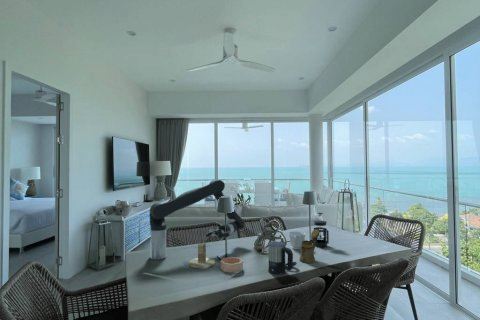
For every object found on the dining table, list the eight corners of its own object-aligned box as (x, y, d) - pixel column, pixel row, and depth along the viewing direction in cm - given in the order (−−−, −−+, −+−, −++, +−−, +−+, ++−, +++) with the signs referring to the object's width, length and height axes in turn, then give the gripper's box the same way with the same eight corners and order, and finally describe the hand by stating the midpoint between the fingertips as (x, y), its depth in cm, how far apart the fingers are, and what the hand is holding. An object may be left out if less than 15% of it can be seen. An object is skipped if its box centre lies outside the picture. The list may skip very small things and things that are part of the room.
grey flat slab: (190, 273, 142) (190, 271, 142) (182, 263, 157) (182, 262, 157) (222, 267, 151) (222, 265, 151) (211, 258, 165) (211, 257, 165)
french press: (309, 245, 192) (309, 212, 193) (318, 243, 197) (318, 211, 198) (323, 249, 182) (323, 214, 183) (332, 246, 188) (331, 213, 188)
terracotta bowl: (226, 275, 139) (226, 265, 139) (218, 268, 149) (218, 259, 149) (245, 271, 144) (245, 262, 145) (236, 264, 154) (236, 255, 155)
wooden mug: (324, 260, 161) (323, 229, 161) (306, 264, 155) (305, 232, 155) (313, 256, 169) (313, 226, 169) (296, 259, 163) (296, 229, 163)
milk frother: (265, 273, 142) (265, 245, 142) (272, 263, 156) (272, 237, 157) (293, 277, 137) (293, 247, 137) (297, 266, 151) (297, 239, 152)
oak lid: (205, 270, 144) (205, 249, 144) (182, 266, 150) (182, 245, 151) (220, 261, 157) (220, 242, 157) (198, 258, 164) (198, 239, 164)
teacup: (285, 251, 179) (285, 235, 179) (290, 244, 193) (289, 230, 193) (304, 253, 175) (303, 237, 175) (307, 246, 188) (307, 232, 189)
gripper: (216, 223, 182) (202, 228, 167) (235, 225, 176) (222, 230, 161) (216, 234, 182) (203, 241, 167) (235, 236, 175) (223, 243, 161)
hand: (212, 236), depth 164 cm, fingers open, 8 cm apart
